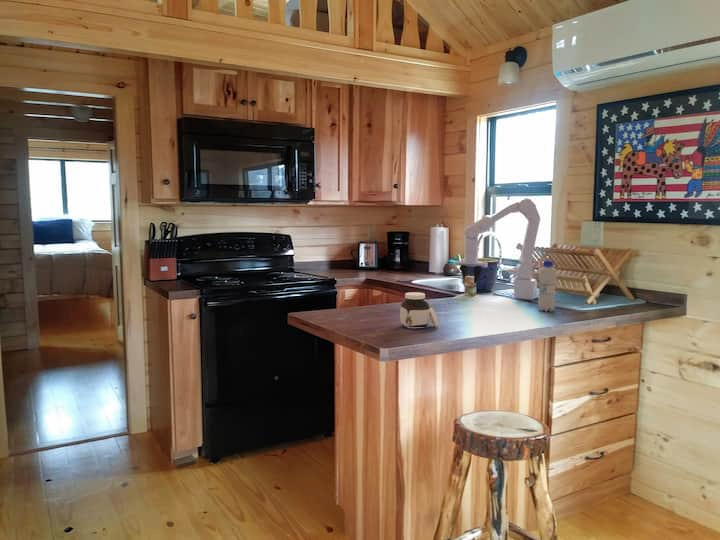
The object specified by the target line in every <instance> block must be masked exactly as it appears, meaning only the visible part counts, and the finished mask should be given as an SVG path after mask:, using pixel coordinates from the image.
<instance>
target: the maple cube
mask: <svg viewBox="0 0 720 540" xmlns="http://www.w3.org/2000/svg"><path fill="white" fill-rule="evenodd" d="M465 286H472V287H473V286H476V283H474V276H466V277H465Z"/></svg>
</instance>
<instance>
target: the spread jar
mask: <svg viewBox="0 0 720 540" xmlns="http://www.w3.org/2000/svg"><path fill="white" fill-rule="evenodd" d="M399 308H400V309H399V311H400V312H399V314H400V315H399V317H400V319H399V320H400V323H401V325H402V324H403V325H405V326H409V327H425V328H427V326H428V325H429V324H430V323H431V325H432V324H433V325H434V326H435V327H434V328H437V327H436V326H438V327H440V323H439V319H438V316H437V313H436V311H435V310H434V308H433V307H430V304H429V302H428V301H427V300H426V294H425V293H424V292H418V291H417V292H416V291H415V292H413V291H411V292H405V294H404V299H403V300H402V301H401V303H400V307H399ZM403 325H402V326H403ZM433 325H432V326H433Z"/></svg>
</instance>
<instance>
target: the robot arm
mask: <svg viewBox="0 0 720 540" xmlns="http://www.w3.org/2000/svg"><path fill="white" fill-rule="evenodd" d="M512 213H515V214H516V213H521V214H522V215H523V216H524V217H525V219H526V220H527V224H526V229H525V234H524V239H523V244H522V249H521V251H520V252H521V254H520V256H519V259H518V262H517V264H516V265H515V267H514V272H515V273H516V275H515V276H514V290H513V291H514V294H513V296H511V297H510V298H511V299H520V300H521V299H522V300H532V301H533V300H534V299H536V298H537V297H538V294H537V293H538V281H537V279H533V278H532V275H533V269H532V265H533V254H534V251H535V246H536V240H537V236H538V231H539V227H540V222H541V216H540V214H539V211H538V209H537V205H536V203H534V202H533V200H532V199H531V198H527V197H526V198H520V199H518V200H516V201H514V202H512V203H509V204H508V205H506V206H504V207H503V208H501V209H500V210H499V211H497V212H495V213H494V214H492V215H488V214H487V215H482V216H481V218H480V219H478V220H477V221H474V222H472V224H471V225H468V226H467V227H466V228H465V231H464V234H465V243H464V259H465V261H462V260H456V261H454V266H455V267H456V266H459V270H460V272H461V276H462V275H463V278H464V282H465V277H466V276H467V274H468V267H469V266H474V283H477V281H478V277H479V274H480V272H481V270H482V268H483V267H488V263H484V262H478V258H479V240H478V239H479V236H480V234H483V233H485V232H487V231H488V230H490V229H492V228H493V227H494V226H495V223H496V222H497V221H500V220H502V219H503V218H504V217H506V216H508V215H509V214H512ZM467 264H470V265H467Z"/></svg>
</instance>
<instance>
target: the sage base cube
mask: <svg viewBox="0 0 720 540" xmlns="http://www.w3.org/2000/svg"><path fill="white" fill-rule="evenodd" d="M464 293H465V296H470V297H474V296H476V294H477V292H476V287H472V286H467V287H464Z"/></svg>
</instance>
